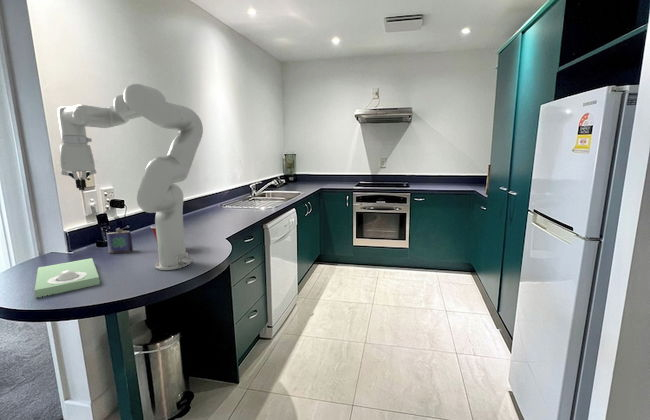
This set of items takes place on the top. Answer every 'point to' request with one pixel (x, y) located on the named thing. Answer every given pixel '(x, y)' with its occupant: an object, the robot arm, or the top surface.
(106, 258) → the top surface
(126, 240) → the flask
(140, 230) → the top surface
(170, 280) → the top surface
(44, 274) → the tissue box
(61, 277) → the ball
